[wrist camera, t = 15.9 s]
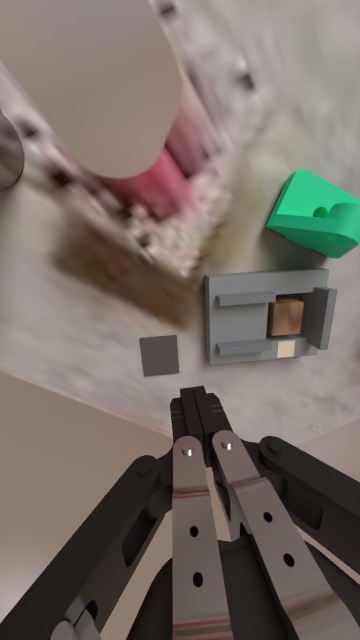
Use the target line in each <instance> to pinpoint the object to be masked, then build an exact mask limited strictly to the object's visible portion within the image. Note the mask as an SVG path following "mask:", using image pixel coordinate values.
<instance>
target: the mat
mask: <svg viewBox="0 0 360 640" xmlns="http://www.w3.org/2000/svg"><path fill="white" fill-rule="evenodd" d="M140 342H141V351H142V359H143V367H144V375H145V376H153V375H163V374H173V373H179V364H178V349H177V335H172V336H161V337H149V338H140Z"/></svg>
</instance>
